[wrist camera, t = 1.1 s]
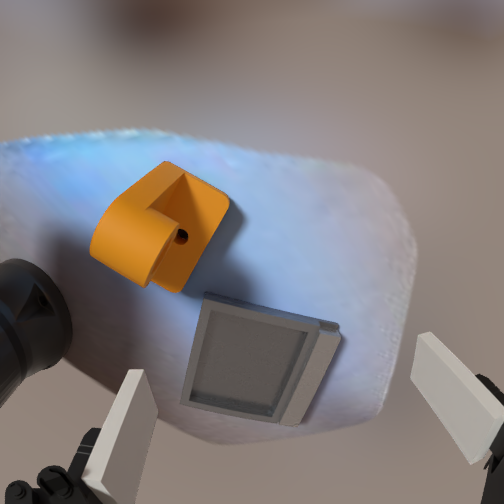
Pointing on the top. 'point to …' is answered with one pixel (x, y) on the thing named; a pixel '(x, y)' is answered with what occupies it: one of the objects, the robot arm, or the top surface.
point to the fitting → (257, 361)
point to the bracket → (159, 227)
